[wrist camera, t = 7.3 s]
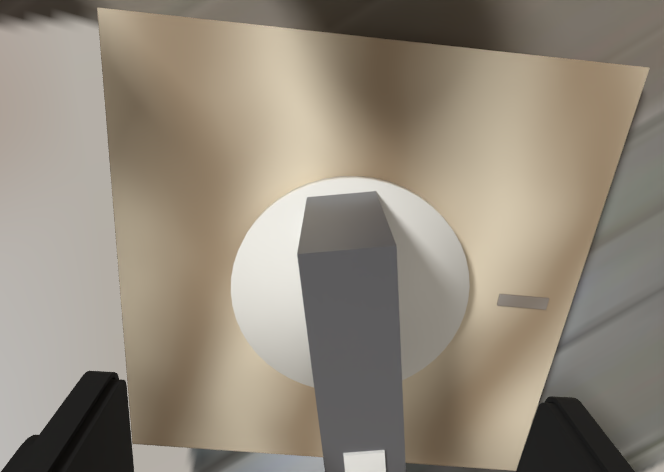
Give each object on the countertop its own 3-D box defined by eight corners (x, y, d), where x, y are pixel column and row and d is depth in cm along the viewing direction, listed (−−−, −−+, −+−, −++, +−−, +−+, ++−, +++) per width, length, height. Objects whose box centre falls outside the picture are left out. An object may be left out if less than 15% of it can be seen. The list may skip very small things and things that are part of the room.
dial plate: (141, 427, 21) (131, 445, 20) (111, 11, 15) (95, 7, 14) (508, 453, 22) (516, 472, 21) (630, 67, 16) (651, 67, 15)
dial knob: (214, 187, 16) (155, 248, 10) (467, 164, 16) (538, 215, 10) (252, 390, 19) (223, 515, 14) (463, 373, 19) (516, 495, 13)
